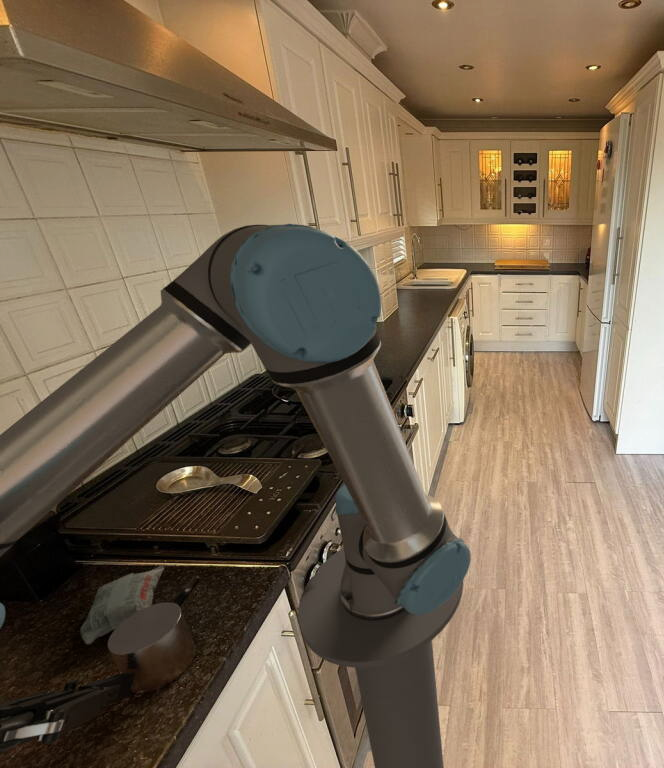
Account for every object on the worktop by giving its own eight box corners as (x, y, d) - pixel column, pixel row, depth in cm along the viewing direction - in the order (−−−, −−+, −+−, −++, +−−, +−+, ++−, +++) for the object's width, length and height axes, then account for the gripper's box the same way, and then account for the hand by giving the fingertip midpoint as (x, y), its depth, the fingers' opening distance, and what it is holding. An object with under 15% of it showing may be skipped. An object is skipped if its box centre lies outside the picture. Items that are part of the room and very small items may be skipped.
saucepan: (231, 601, 71) (219, 566, 68) (172, 691, 57) (154, 652, 55) (183, 604, 71) (169, 568, 68) (112, 695, 57) (90, 655, 54)
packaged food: (168, 576, 76) (159, 556, 74) (156, 627, 66) (146, 605, 65) (106, 597, 72) (95, 576, 70) (84, 654, 62) (71, 632, 60)
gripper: (-232, 833, 31) (62, 722, 53) (-47, 819, 32) (168, 716, 54) (-170, 712, 34) (85, 654, 56) (-2, 702, 35) (185, 649, 57)
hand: (125, 684), depth 55 cm, fingers closed
